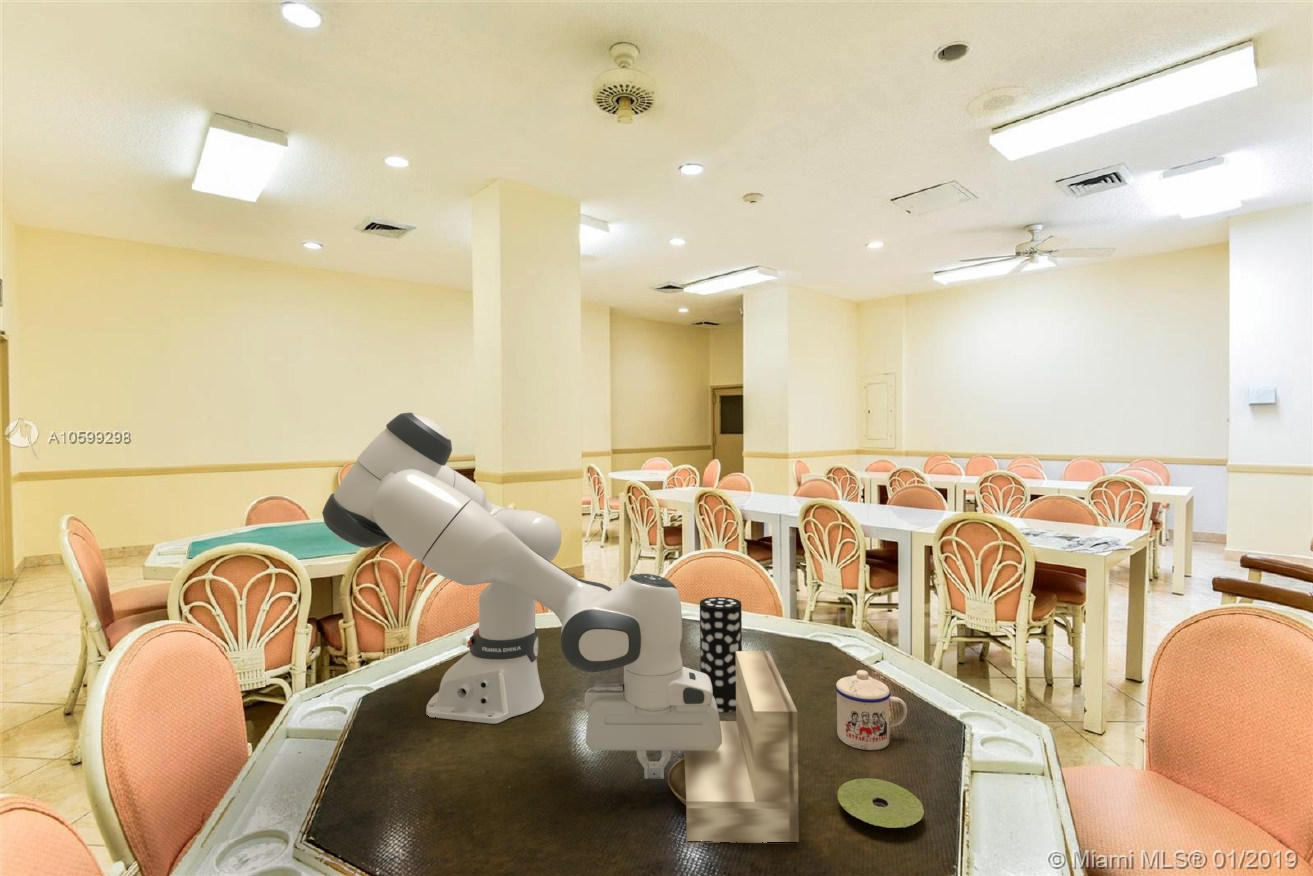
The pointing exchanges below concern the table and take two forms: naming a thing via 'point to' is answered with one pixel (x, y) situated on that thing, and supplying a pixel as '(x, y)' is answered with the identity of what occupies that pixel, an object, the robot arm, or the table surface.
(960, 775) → the table surface
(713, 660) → the white-spotted black cylinder
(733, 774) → the wooden step block
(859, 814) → the green disc with hole
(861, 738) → the teacup with lid
